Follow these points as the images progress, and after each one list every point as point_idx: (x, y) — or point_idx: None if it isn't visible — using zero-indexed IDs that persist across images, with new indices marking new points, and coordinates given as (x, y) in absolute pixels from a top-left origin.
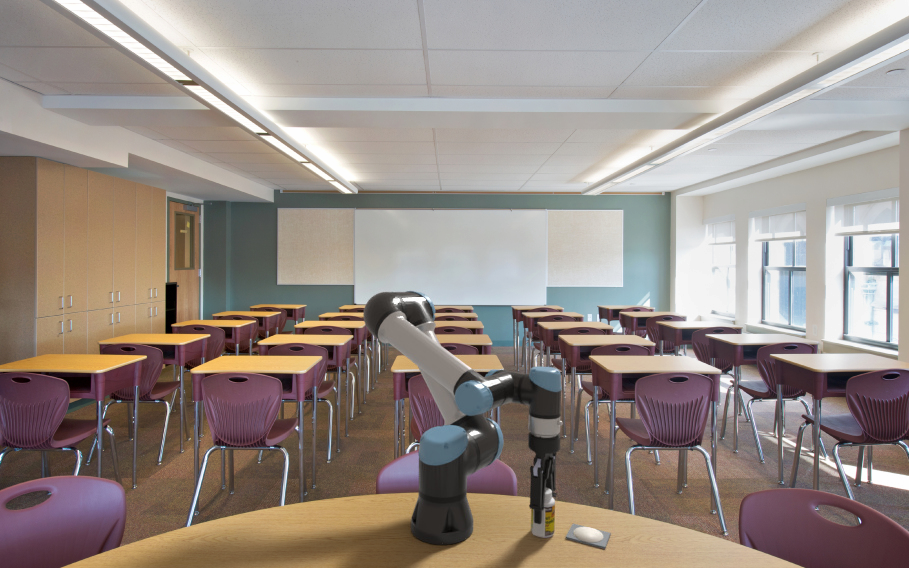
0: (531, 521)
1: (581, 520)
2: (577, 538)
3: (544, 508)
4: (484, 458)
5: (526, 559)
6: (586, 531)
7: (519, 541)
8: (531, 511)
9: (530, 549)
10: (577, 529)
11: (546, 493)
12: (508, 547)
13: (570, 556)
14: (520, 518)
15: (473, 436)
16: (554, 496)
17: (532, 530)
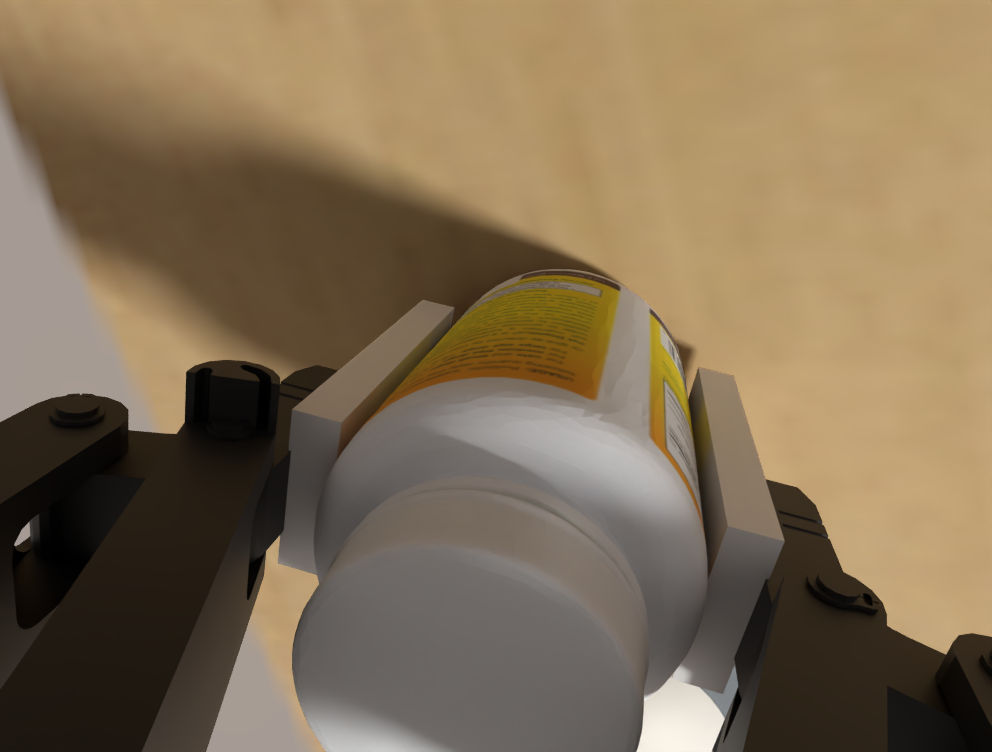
0: (499, 299)
1: None
2: None
3: (315, 565)
4: None
5: (93, 269)
6: (651, 744)
7: (329, 170)
8: (485, 330)
9: (242, 288)
10: (665, 684)
11: (338, 743)
12: (187, 77)
13: (279, 584)
14: (844, 101)
15: None
16: (718, 736)
17: (486, 294)
